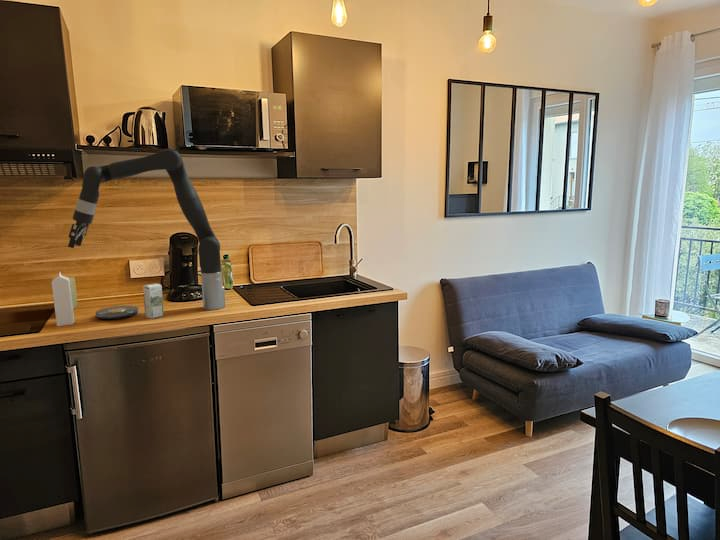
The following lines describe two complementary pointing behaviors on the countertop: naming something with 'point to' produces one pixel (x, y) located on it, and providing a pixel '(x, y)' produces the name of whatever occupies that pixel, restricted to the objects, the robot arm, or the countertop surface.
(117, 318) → the turntable base
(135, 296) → the countertop surface
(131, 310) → the disc
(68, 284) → the milk
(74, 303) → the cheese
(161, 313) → the syrup box
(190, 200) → the robot arm
